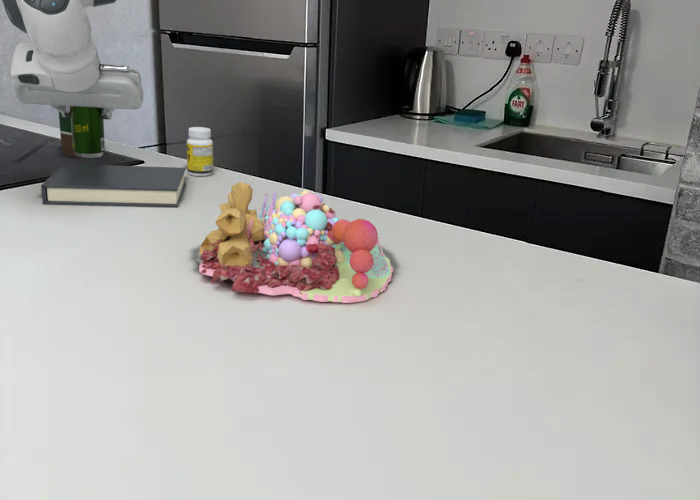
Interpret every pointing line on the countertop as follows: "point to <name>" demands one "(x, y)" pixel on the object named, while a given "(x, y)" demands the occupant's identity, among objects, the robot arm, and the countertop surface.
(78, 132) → the beer can
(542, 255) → the countertop surface
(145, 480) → the countertop surface
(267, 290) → the candy landscape model
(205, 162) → the supplement bottle
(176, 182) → the book
